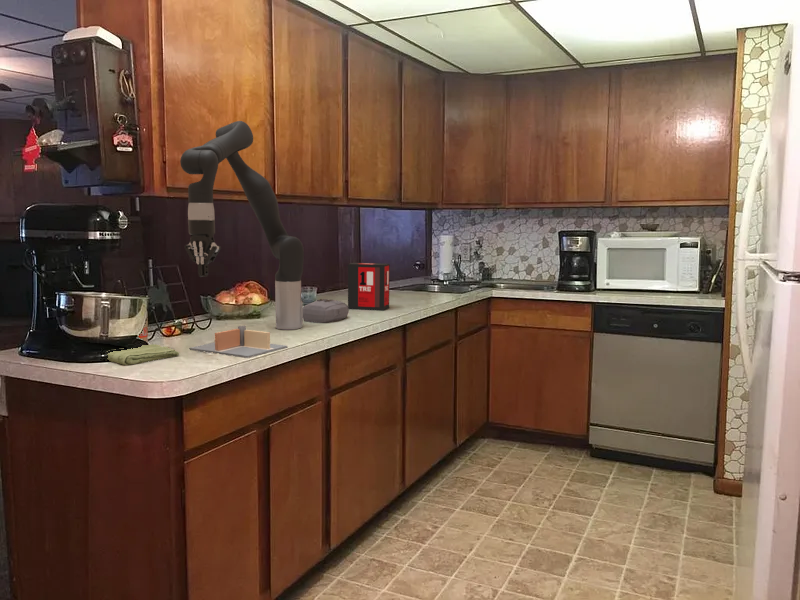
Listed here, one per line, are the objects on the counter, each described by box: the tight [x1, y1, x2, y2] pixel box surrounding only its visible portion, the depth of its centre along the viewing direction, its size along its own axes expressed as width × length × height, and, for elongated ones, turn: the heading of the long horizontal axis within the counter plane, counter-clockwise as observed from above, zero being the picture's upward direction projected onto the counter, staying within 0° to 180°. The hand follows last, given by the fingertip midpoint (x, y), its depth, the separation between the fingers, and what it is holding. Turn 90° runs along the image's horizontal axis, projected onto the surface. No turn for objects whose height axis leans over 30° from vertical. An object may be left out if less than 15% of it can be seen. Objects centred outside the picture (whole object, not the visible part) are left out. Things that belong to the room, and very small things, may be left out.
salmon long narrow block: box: [214, 328, 240, 350], centre depth 196 cm, size 9×1×5 cm, turn 149°
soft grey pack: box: [303, 298, 350, 324], centre depth 259 cm, size 15×8×20 cm
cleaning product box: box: [347, 262, 391, 312], centre depth 290 cm, size 16×9×20 cm, turn 76°
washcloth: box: [107, 344, 180, 366], centre depth 185 cm, size 13×18×3 cm
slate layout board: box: [188, 325, 288, 359], centre depth 200 cm, size 18×23×6 cm
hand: (203, 276), depth 197 cm, fingers closed
